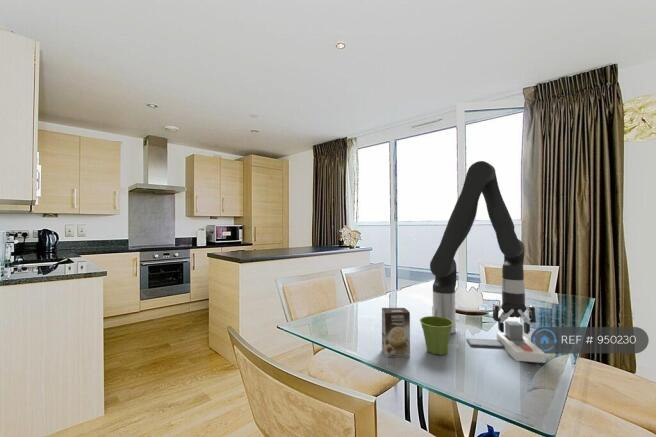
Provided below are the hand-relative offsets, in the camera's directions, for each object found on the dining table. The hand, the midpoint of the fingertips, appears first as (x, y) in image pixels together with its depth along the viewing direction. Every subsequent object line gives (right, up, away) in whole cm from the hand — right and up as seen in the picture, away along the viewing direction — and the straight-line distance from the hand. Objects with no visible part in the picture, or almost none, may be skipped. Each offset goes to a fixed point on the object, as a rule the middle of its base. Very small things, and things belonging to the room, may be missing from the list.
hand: (514, 332), depth 115 cm
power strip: (-1, -5, -4) cm, 6 cm away
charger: (0, -5, 0) cm, 5 cm away
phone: (-10, -5, +2) cm, 12 cm away
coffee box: (-47, -6, -5) cm, 47 cm away
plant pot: (-31, -6, -3) cm, 32 cm away
